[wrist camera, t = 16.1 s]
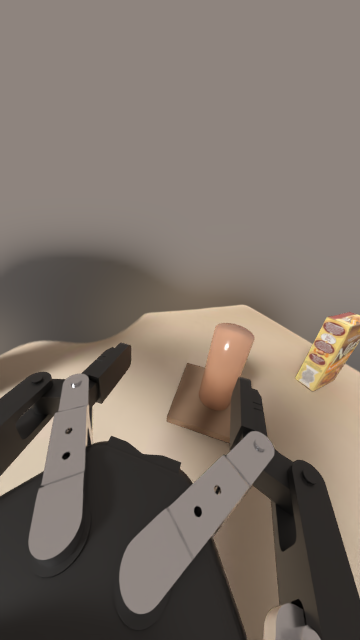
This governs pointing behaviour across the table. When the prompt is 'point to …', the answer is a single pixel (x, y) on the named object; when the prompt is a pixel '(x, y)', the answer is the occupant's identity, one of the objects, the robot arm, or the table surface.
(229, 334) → the orange tan cylinder
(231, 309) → the table surface
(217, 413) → the walnut pad
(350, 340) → the candy box
